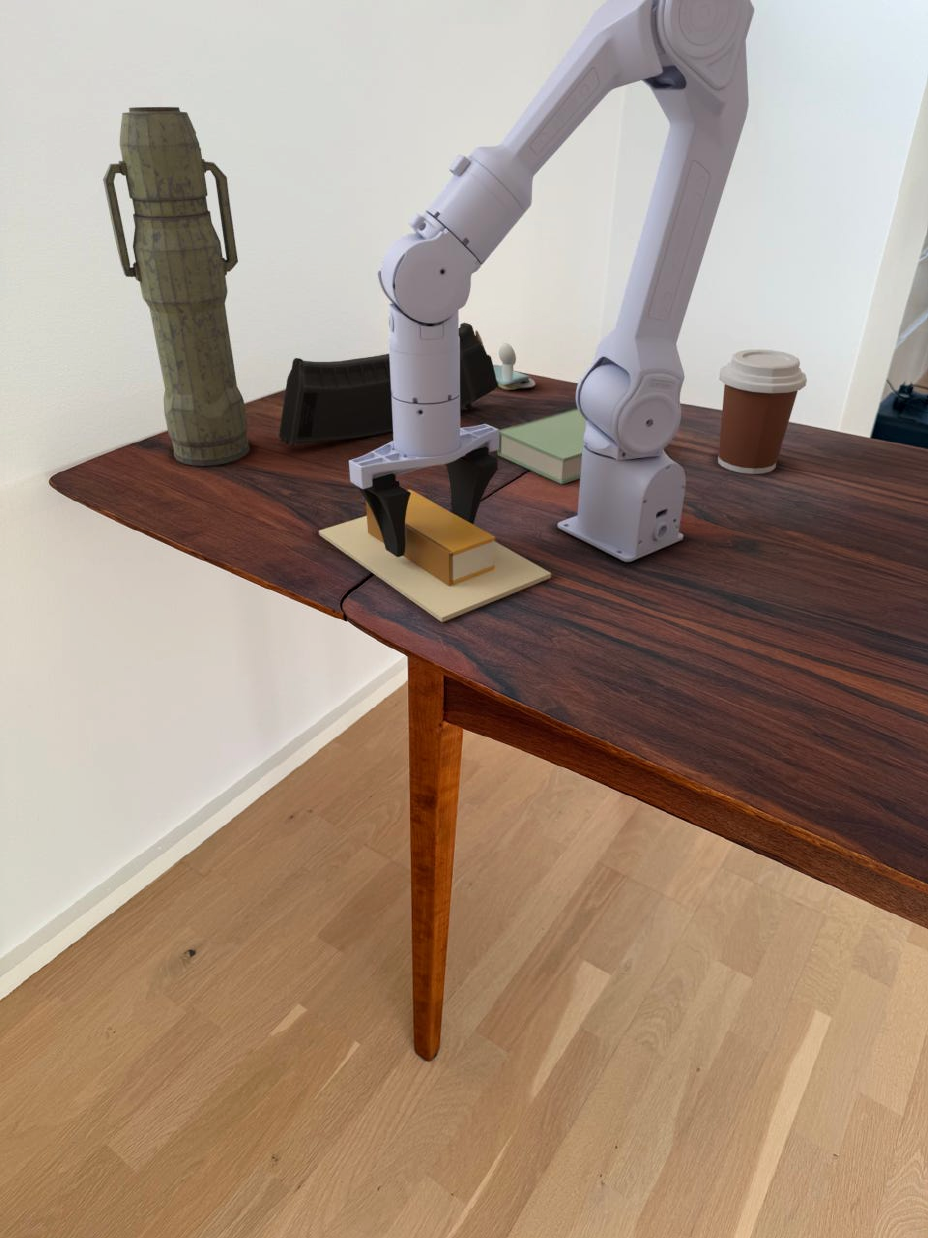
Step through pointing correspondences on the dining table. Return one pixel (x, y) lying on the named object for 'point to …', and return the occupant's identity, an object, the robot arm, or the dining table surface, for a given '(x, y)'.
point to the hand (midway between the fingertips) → (429, 540)
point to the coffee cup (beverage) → (757, 408)
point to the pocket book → (441, 541)
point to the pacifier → (510, 371)
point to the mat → (425, 587)
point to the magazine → (365, 393)
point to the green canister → (182, 279)
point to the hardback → (547, 445)
